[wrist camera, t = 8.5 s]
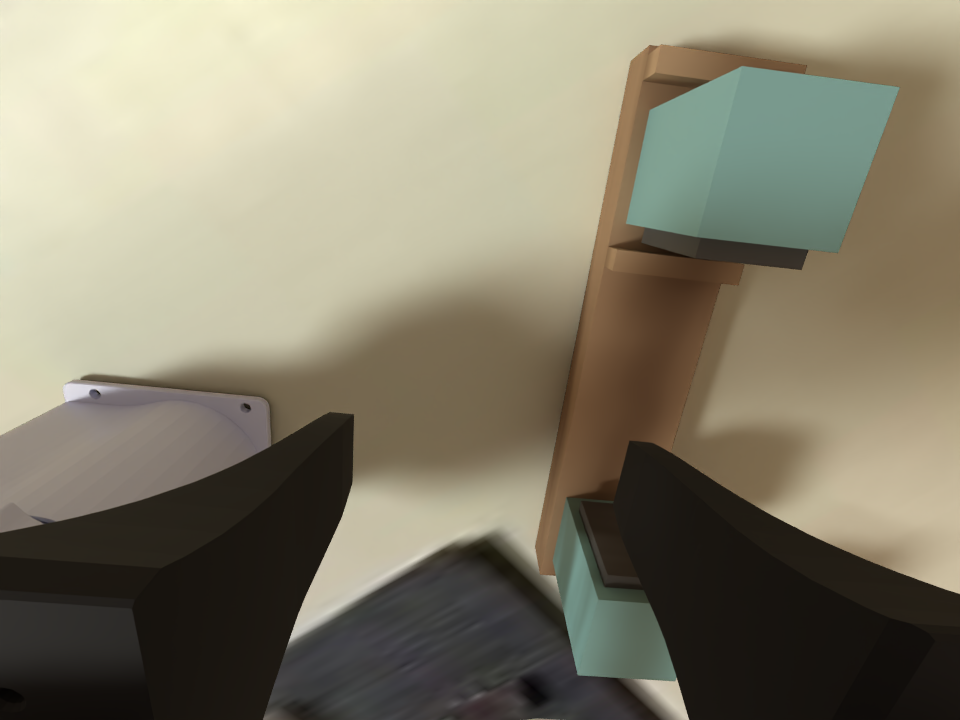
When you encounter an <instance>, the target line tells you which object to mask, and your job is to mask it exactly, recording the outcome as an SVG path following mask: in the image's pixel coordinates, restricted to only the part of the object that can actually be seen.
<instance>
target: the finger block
mask: <svg viewBox="0 0 960 720" xmlns="http://www.w3.org/2000/svg"><path fill="white" fill-rule="evenodd" d="M899 88H900V87H895V86H887V85H880V84H873V83H865V82H858V81H850V80H843V79H835V78H828V77H820V76H813V75H805V74H798V73H790V72H783V71H776V70H768V69H761V68H753V67H746V66H742V67H739V68H737V69H735V70H733V71H731V72H729V73H727V74H725V75H723V76H720V77H718V78H716V79H714V80H712V81H710V82H708V83H706V84H704V85H701V86H699V87H697V88H695V89H693V90H691V91H689V92H687V93H685V94H682V95H680V96H678V97H676V98H674V99H672V100H670V101H668V102H666V103H664V104H661V105H659V106H657V107H655V108H653V109H651V110H650V111H649V116H648V121H647V126H646V131H645V135H644V140H643V145H642V150H641V154H640V159H639V164H638V169H637V173H636V178H635V183H634V188H633V193H632V197H631V202H630V207H629V212H628V216H627V221H626V224H630V225H636V226H641V227H645V228H644V233H643V237H642V242H641V243H644V244H647V245H651V246H654V247H658V248H661V249H665V250H668V251H672V252H675V253H679V254H682V255H686V256H689V257H693V258H698V259H707V260H716V261H725V262H734V263H743V264H752V265H761V266H770V267H779V268H789V269H798V270H802V267H803V264H804V261H805V259H806V256H807V253H808V250H816V251H824V252H833V253H838V252H839V249H840V247H841V244H842V241H843V238H844V236H845V233H846V230H847V228H848V225H849V222H850V220H851V217H852V214H853V212H854V209H855V206H856V204H857V201H858V198H859V196H860V193H861V190H862V187H863V185H864V182H865V179H866V177H867V174H868V171H869V169H870V166H871V163H872V161H873V158H874V155H875V153H876V150H877V147H878V145H879V142H880V139H881V136H882V134H883V131H884V128H885V126H886V123H887V120H888V118H889V115H890V112H891V110H892V107H893V104H894V102H895V99H896V96H897V94H898V91H899Z"/></svg>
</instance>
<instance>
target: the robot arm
mask: <svg viewBox="0 0 960 720" xmlns="http://www.w3.org/2000/svg"><path fill="white" fill-rule="evenodd" d="M96 390H98V391H99V392H100V394H101V395H99V394H98V393H97V392H96ZM63 393H64V397H65V403H63V404H61V405H59V406H57V407H55V408H53V409H51V410H49V411H48V412H46V413H44V414H42V415H40V416H38V417H36V418H34V419H32V420H30V421H28V422H26V423H24V424H22V425H20V426H18V427H16V428H14V429H12V430H10V431H8V432H6V433H5V434H3V435H1V436H0V720H263V717H264V714H265V711H266V708H267V705H268V702H269V698H270V695H271V692H272V689H273V686H274V683H275V680H276V677H277V674H278V671H279V668H280V665H281V662H282V659H283V656H284V653H285V650H286V647H287V645H288V642H289V639H290V636H291V633H292V630H293V627H294V624H295V621H296V619H297V616H298V613H299V611H300V608H301V606H302V603H303V601H304V598H305V596H306V594H307V592H308V589H309V587H310V585H311V583H312V581H313V579H314V576H315V574H316V572H317V570H318V568H319V566H320V564H321V561H322V559H323V557H324V555H325V553H326V551H327V548H328V546H329V544H330V542H331V540H332V538H333V535H334V533H335V531H336V529H337V527H338V524H339V522H340V520H341V518H342V515H343V512H344V509H345V505H346V502H347V499H348V496H349V492H350V489H351V485H352V478H353V430H354V415H353V414H343V413H332V412H329V413H327V414H325V415H323V416H322V417H320V418H318V419H316V420H315V421H313V422H311V423H310V424H308V425H306V426H305V427H303V428H301V429H300V430H298V431H296V432H295V433H293V434H291V435H290V436H288V437H286V438H284V439H283V440H281V441H279V442H278V443H276V444H274V445H272V446H271V428H270V408H269V404H268V402H267V401H266V400H265V399H263V398H261V397H255V396H245V395H234V394H224V393H213V392H203V391H192V390H181V389H171V388H160V387H150V386H139V385H129V384H118V383H108V382H97V381H87V380H72V381H70V382H68V383H66V384H65V385H64V386H63ZM244 403H246V404H248V405H249V406H250V407H251V409H250V410H249V409H247V408H245V407H244ZM613 508H614V512H615V516H616V520H617V524H618V527H619V530H620V534H621V537H622V540H623V543H624V545H625V548H626V550H627V552H628V555H629V557H630V559H631V562H632V564H633V567H634V569H635V571H636V573H637V576H638V578H639V580H640V583H641V585H642V587H643V589H644V592H645V594H646V596H647V599H648V601H649V603H650V605H651V608H652V610H653V612H654V615H655V617H656V619H657V622H658V624H659V627H660V629H661V632H662V634H663V637H664V640H665V643H666V646H667V649H668V652H669V655H670V658H671V661H672V664H673V667H674V671H675V674H676V677H677V680H678V683H679V686H680V690H681V693H682V697H683V700H684V703H685V707H686V710H687V714H688V717H689V720H960V594H958V593H955V592H951V591H948V590H945V589H942V588H939V587H936V586H933V585H931V584H928V583H925V582H923V581H920V580H917V579H914V578H912V577H909V576H906V575H904V574H901V573H898V572H895V571H893V570H890V569H888V568H885V567H883V566H880V565H878V564H875V563H873V562H870V561H867V560H865V559H863V558H860V557H858V556H856V555H853V554H851V553H849V552H847V551H844V550H842V549H840V548H837V547H835V546H833V545H830V544H828V543H826V542H824V541H822V540H820V539H817V538H815V537H813V536H811V535H809V534H807V533H805V532H803V531H801V530H799V529H797V528H795V527H793V526H791V525H789V524H787V523H785V522H783V521H781V520H780V519H778V518H776V517H774V516H772V515H770V514H768V513H767V512H765V511H763V510H761V509H759V508H758V507H756V506H754V505H753V504H751V503H749V502H748V501H746V500H744V499H743V498H741V497H739V496H737V495H736V494H734V493H733V492H731V491H729V490H728V489H726V488H724V487H723V486H721V485H720V484H718V483H717V482H715V481H713V480H712V479H710V478H709V477H707V476H706V475H704V474H703V473H701V472H700V471H698V470H697V469H695V468H694V467H692V466H690V465H689V464H687V463H686V462H684V461H683V460H681V459H680V458H678V457H677V456H675V455H673V454H672V453H670V452H669V451H667V450H665V449H664V448H662V447H660V446H658V445H656V444H654V443H651V442H641V441H630V440H629V444H628V448H627V452H626V456H625V460H624V463H623V467H622V471H621V475H620V479H619V483H618V486H617V490H616V494H615V498H614V502H613ZM529 720H553V719H529Z"/></svg>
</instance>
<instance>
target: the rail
mask: <svg viewBox="0 0 960 720" xmlns="http://www.w3.org/2000/svg"><path fill="white" fill-rule="evenodd" d="M742 66H746V67H753V68H761V69H768V70H776V71H783V72H790V73H798V74H805V70H806V67H807V65H800V64H793V63H786V62H779V61H772V60H765V59H758V58H751V57H744V56H738V55H731V54H724V53H717V52H710V51H703V50H696V49H689V48H682V47H675V46H668V45H660V46H652V45H649V46H648V47H647V48H646V49H645V50H643V51H642V52H641V53H640V54H639V55H637V56H636V57H635V58H634V59H633V60H632V61H631V63H630V68H629V73H628V78H627V83H626V88H625V93H624V99H623V104H622V109H621V114H620V119H619V124H618V129H617V134H616V139H615V144H614V149H613V154H612V159H611V165H610V170H609V175H608V180H607V185H606V190H605V195H604V200H603V205H602V210H601V215H600V220H599V225H598V230H597V236H596V241H595V246H594V251H593V256H592V261H591V266H590V271H589V276H588V281H587V286H586V291H585V296H584V302H583V307H582V312H581V317H580V322H579V327H578V332H577V337H576V342H575V347H574V352H573V357H572V362H571V368H570V373H569V378H568V383H567V388H566V393H565V398H564V403H563V408H562V413H561V418H560V423H559V428H558V434H557V439H556V444H555V449H554V454H553V459H552V464H551V469H550V474H549V479H548V484H547V489H546V494H545V500H544V505H543V510H542V515H541V520H540V525H539V530H538V535H537V540H536V545H535V549H536V554H537V560H538V565H539V571H540V575H554V576H556V578H557V583H558V587H559V592H560V596H561V601H562V605H563V610H564V614H565V619H566V623H567V628H568V633H569V637H570V642H571V646H572V651H573V655H574V660H575V664H576V669H577V673H578V675H585V676H600V677H616V678H631V679H647V680H663V681H675V680H676V674H675V671H674V667H673V664H672V661H671V658H670V655H669V652H668V649H667V646H666V643H665V640H664V637H663V634H662V632H661V629H660V627H659V624H658V622H657V619H656V617H655V615H654V612H653V610H652V608H651V605H650V603H649V601H648V599H647V596H646V594H645V592H644V589H643V587H642V585H641V583H640V580H639V578H638V576H637V573H636V571H635V569H634V567H633V564H632V562H631V559H630V557H629V555H628V552H627V550H626V548H625V545H624V543H623V540H622V537H621V534H620V530H619V527H618V524H617V520H616V516H615V512H614V508H613V502H614V498H615V494H616V490H617V486H618V483H619V479H620V475H621V471H622V467H623V463H624V460H625V456H626V452H627V448H628V444H629V440H630V441H641V442H651V443H654V444H656V445H658V446H660V447H662V448H664V449H665V450H667V451H669V452H670V453H671V449H672V446H673V443H674V439H675V436H676V433H677V429H678V426H679V422H680V419H681V416H682V412H683V409H684V406H685V402H686V399H687V396H688V392H689V389H690V386H691V382H692V379H693V376H694V372H695V369H696V366H697V362H698V359H699V356H700V352H701V349H702V346H703V342H704V339H705V336H706V332H707V329H708V326H709V322H710V319H711V316H712V312H713V309H714V306H715V302H716V299H717V296H718V292H719V289H720V285H721V284H730V285H739V281H740V278H741V275H742V272H743V269H744V264H740V263H734V262H725V261H716V260H707V259H698V258H693V257H689V256H686V255H682V254H679V253H675V252H672V251H668V250H665V249H661V248H658V247H654V246H651V245H647V244H644V243H641V242H642V237H643V233H644V228H645V227H641V226H636V225H630V224H626V221H627V216H628V212H629V207H630V202H631V197H632V193H633V188H634V183H635V178H636V173H637V169H638V164H639V159H640V154H641V150H642V145H643V140H644V135H645V131H646V126H647V121H648V116H649V111H650V110H651V109H653V108H655V107H657V106H659V105H661V104H664V103H666V102H668V101H670V100H672V99H674V98H676V97H678V96H680V95H682V94H685V93H687V92H689V91H691V90H693V89H695V88H697V87H699V86H701V85H704V84H706V83H708V82H710V81H712V80H714V79H716V78H718V77H720V76H723V75H725V74H727V73H729V72H731V71H733V70H735V69H737V68H739V67H742Z"/></svg>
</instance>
